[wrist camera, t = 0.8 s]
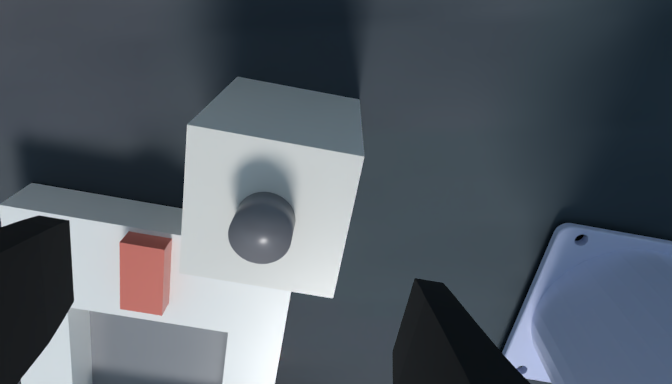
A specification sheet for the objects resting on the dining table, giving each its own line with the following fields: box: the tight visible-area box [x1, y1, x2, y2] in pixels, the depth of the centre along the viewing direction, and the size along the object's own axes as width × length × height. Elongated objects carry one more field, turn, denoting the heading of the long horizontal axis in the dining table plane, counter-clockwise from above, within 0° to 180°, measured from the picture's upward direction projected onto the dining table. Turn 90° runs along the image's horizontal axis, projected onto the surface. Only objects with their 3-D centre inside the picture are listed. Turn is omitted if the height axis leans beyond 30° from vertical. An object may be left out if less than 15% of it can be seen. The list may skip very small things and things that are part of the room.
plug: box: [179, 77, 364, 298], centre depth 15 cm, size 4×4×7 cm
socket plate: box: [0, 183, 291, 384], centre depth 21 cm, size 11×15×3 cm
